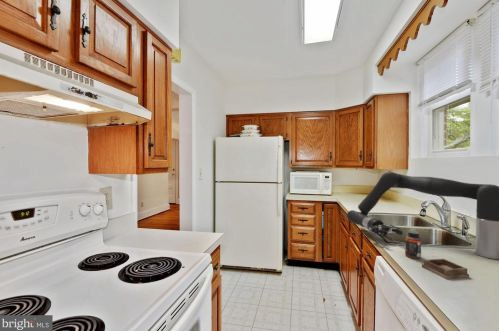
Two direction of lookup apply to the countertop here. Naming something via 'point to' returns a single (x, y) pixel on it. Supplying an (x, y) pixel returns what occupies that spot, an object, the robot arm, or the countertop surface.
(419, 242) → the supplement bottle
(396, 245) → the countertop surface
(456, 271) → the square wooden tray
